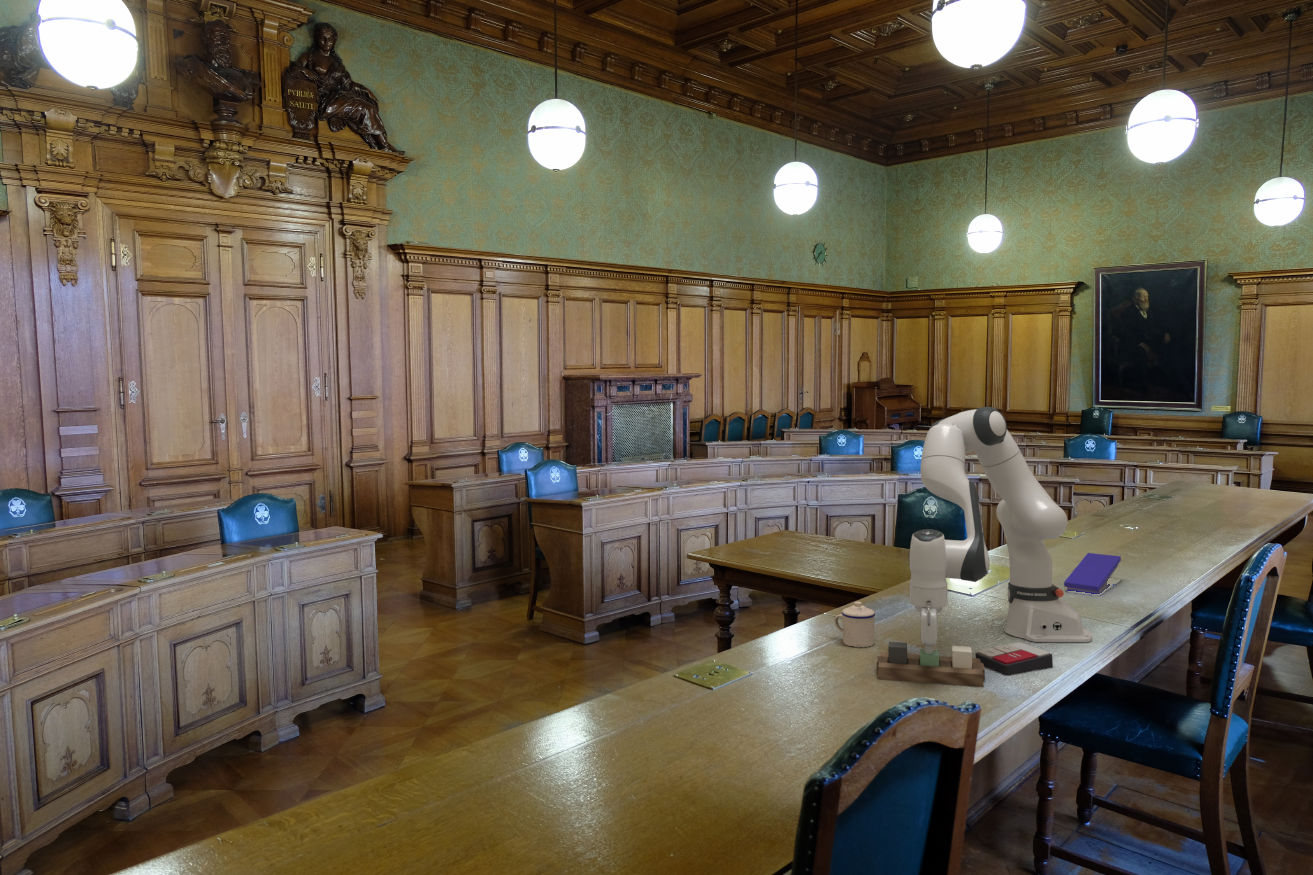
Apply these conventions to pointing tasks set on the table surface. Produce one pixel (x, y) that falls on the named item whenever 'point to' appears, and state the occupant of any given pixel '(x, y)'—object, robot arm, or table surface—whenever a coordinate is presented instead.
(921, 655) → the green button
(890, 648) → the dark grey block
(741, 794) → the table surface
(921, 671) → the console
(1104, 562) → the purple sloped board
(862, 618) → the teacup with lid
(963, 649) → the cream white block
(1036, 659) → the push button box
